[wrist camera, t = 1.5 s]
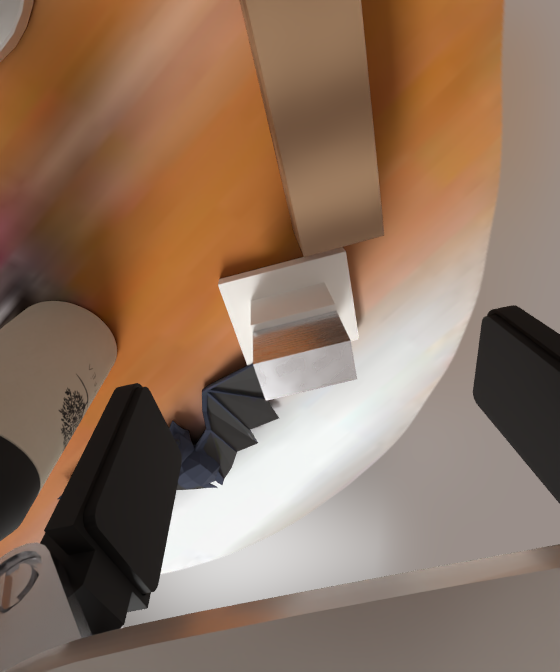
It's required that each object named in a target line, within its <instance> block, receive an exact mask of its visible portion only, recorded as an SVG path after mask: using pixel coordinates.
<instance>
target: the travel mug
mask: <svg viewBox="0 0 560 672" xmlns="http://www.w3.org/2000/svg"><path fill="white" fill-rule="evenodd" d="M116 356H117V346H116V342H115V339H114V336H113V334H112V333H111V331H110V329H109V328H108V327H107V326H106V324H105V323H104V322H103V321H102V320H101V319H100V318H98V317H97V316H96V315H94V314H93V313H91V312H90V311H88V310H86V309H84V308H82V307H80V306H77V305H75V304H71V303H67V302H61V301H45V302H40V303H37V304H34V305H32V306H30V307H28V308H27V309H25V310H24V311H23V312H21V313H20V314H19V315H18V316H16V317H15V318H14V319H13V320H11V321H10V322H9V323H8V324H6V325H5V326H4V327H3V328H1V329H0V541H1V540H2V539H4V538H5V537H6V536H8V535H9V534H10V533H12V532H13V531H14V530H16V529H17V528H18V527H19V526H20V524H21V523H22V521H23V520H24V518H25V516H26V514H27V513H28V511H29V509H30V507H31V506H32V504H33V502H34V501H35V499H36V497H37V495H38V494H39V492H40V490H41V489H42V487H43V485H44V483H45V482H46V480H47V478H48V477H49V475H50V473H51V471H52V470H53V468H54V466H55V465H56V463H57V461H58V459H59V458H60V456H61V454H62V453H63V451H64V449H65V447H66V446H67V444H68V442H69V440H70V439H71V437H72V435H73V434H74V432H75V430H76V428H77V427H78V425H79V423H80V422H81V420H82V418H83V416H84V415H85V413H86V411H87V410H88V408H89V406H90V404H91V403H92V401H93V399H94V398H95V396H96V394H97V392H98V391H99V389H100V387H101V385H102V384H103V382H104V380H105V379H106V377H107V375H108V373H109V372H110V370H111V368H112V367H113V365H114V363H115V360H116Z"/></svg>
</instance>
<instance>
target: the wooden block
mask: <svg viewBox="0 0 560 672" xmlns="http://www.w3.org/2000/svg"><path fill="white" fill-rule="evenodd" d="M240 4H241V8H242V13H243V17H244V21H245V26H246V30H247V34H248V38H249V43H250V47H251V51H252V56H253V60H254V64H255V68H256V73H257V77H258V81H259V85H260V90H261V94H262V98H263V103H264V107H265V111H266V115H267V120H268V124H269V128H270V133H271V137H272V141H273V145H274V150H275V154H276V158H277V163H278V167H279V171H280V175H281V180H282V184H283V188H284V192H285V197H286V201H287V205H288V210H289V214H290V218H291V222H292V227H293V231H294V234H295V237H296V239H297V241H298V244H299V246H300V249H301V251H302V253H303V256H304V257H307V256H311V255H314V254H318V253H322V252H325V251H329V250H333V249H336V248H340V247H344V246H347V245H351V244H355V243H358V242H362V241H366V240H369V239H373V238H377V237H380V236H384V227H383V217H382V207H381V197H380V187H379V177H378V167H377V157H376V147H375V137H374V127H373V116H372V106H371V96H370V86H369V76H368V66H367V56H366V46H365V36H364V26H363V16H362V6H361V0H240Z"/></svg>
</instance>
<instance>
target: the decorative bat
mask: <svg viewBox="0 0 560 672" xmlns="http://www.w3.org/2000/svg"><path fill="white" fill-rule="evenodd" d="M202 412H203V416H204V421H205V425H206V429H205V431H204V433H203V434H202V436H201V438H200V439H199V441H198V443H197V444H194V445H193V443H192V441H191V439H190V434H189V430H185V429H182V428H181V427H180V426H178V425H177V424H176V423H175V422H174V421H172V423H171V425H170V428H169V429H170V431H171V433H172V435H173V437H174V439H175V441H176V443H177V445H178V447H179V449H180V452H181V456H182V463H181V469H180V474H179V479H178V484H177V490H187V489H201V488H218V487H216V486H214V485H212V484H210V483H211V482H213V481H217V482H218V483H219V484H221V485H223V481H224V478H225V477H226V475H227V474H228V472H229V471H230V469H231V468H232V465H233V462H234V459H235V456H236V453H237V451H240V450H242V449H245V448H247V447H250V446H252V445H255V444H257V443H258V442H257V440H256V439H255V437H254V435H253V434H252V432H251V430H250V429H253V428H255V427H258V426H260V425H263V424H266V423H268V422H271V421H273V420H276V419H278V418H279V417H278V416H277V414H276V413H275V411H274V410H273V408H272V407H271V405H270V404H269V402H268V401H266V400H265V397H264V394H263V391H262V389H261V386H260V383H259V380H258V377H257V374H256V372H255V369H254V366H253V363H252V364H250V365H248V366H245V367H243V368H241V369H239V370H237V371H235V372H233V373H231V374H229V375H227V376H225V377H223V378H222V379H220V380H218V381H216V382H214V383H212V384H210V385H208V386H207V387H205V388H204V389H203V390H202ZM61 496H62V495H61ZM61 496H60V497H59V498H58V499H60V498H61Z"/></svg>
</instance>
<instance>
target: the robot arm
mask: <svg viewBox="0 0 560 672" xmlns="http://www.w3.org/2000/svg"><path fill="white" fill-rule="evenodd" d="M33 1H34V0H0V62H1V61H2V60H3V59H4V58H5V57H6V56H7V55H8V54H9V53H10V52H11V51H12V50H13V49H14V48H15V47H16V45H17V44H18V42H19V40H20V38H21V37H22V35H23V33H24V31H25V29H26V28H27V24H28V21H29V17H30V14H31V10H32V7H33ZM473 396H474V399H475V401H476V403H477V404H478V406H479V407H480V408H481V409H482V411H483V412H484V413H485V414H486V415H487V417H488V418H489V419H490V420H491V421H492V423H493V424H494V425H495V426H496V427H497V429H498V430H499V431H500V432H501V433H502V435H503V436H504V437H505V438H506V439H507V441H508V442H509V443H510V444H511V446H512V447H513V448H514V449H515V450H516V452H517V453H518V454H519V455H520V456H521V458H522V459H523V460H524V461H525V462H526V464H527V465H528V466H529V467H530V468H531V470H532V471H533V472H534V473H535V474H536V476H537V477H538V478H539V479H540V480H541V482H542V483H543V484H544V485H545V486H546V488H547V489H548V490H549V491H550V493H551V494H552V495H553V496H554V497H555V498H556V500H557V501H558V502H559V503H560V334H558V333H557V332H555V331H554V330H552V329H551V328H549V327H548V326H546V325H545V324H543V323H542V322H540V321H539V320H537V319H536V318H534V317H533V316H531V315H530V314H528V313H527V312H525V311H524V310H522V309H521V308H519V307H517V306H507V307H502V308H498V309H493V310H491V311H489V313H488V315H487V316H486V317H484V318H483V320H482V325H481V333H480V341H479V349H478V356H477V364H476V372H475V380H474V387H473ZM181 463H182V456H181V452H180V449H179V447H178V445H177V443H176V441H175V439H174V437H173V435H172V433H171V431H170V429H169V427H168V426H167V424H166V422H165V420H164V418H163V416H162V414H161V412H160V410H159V408H158V406H157V404H156V402H155V400H154V398H153V396H152V394H151V392H150V390H149V389H148V388H147V387H142V386H141V385H140V384H138V383H136V384H131V385H126V386H121V387H117V388H116V389H115V390H114V392H113V394H112V396H111V398H110V400H109V402H108V404H107V406H106V408H105V410H104V412H103V414H102V416H101V418H100V420H99V422H98V424H97V426H96V428H95V430H94V432H93V434H92V436H91V438H90V440H89V442H88V444H87V446H86V448H85V450H84V452H83V454H82V456H81V458H80V460H79V462H78V464H77V466H76V468H75V470H74V472H73V474H72V476H71V478H70V480H69V482H68V484H67V486H66V488H65V490H64V492H63V494H62V496H61V498H60V500H59V502H58V504H57V506H56V508H55V510H54V512H53V514H52V516H51V518H50V520H49V522H48V524H47V526H46V528H45V530H44V531H45V532H46V533H45V535H44V537H43V539H42V541H41V543H40V544H39V543H30V544H25V545H23V546H20V547H18V548H15V549H13V550H12V551H10V552H9V553H7V554H5V555H4V556H2V557H1V558H0V672H560V544H559V545H553V546H548V547H542V548H537V549H531V550H526V551H520V552H515V553H509V554H503V555H498V556H492V557H487V558H481V559H476V560H470V561H466V562H460V563H454V564H449V565H444V566H438V567H433V568H428V569H422V570H417V571H411V572H406V573H400V574H395V575H390V576H384V577H379V578H374V579H369V580H363V581H358V582H352V583H347V584H342V585H337V586H331V587H326V588H321V589H315V590H310V591H305V592H300V593H295V594H289V595H284V596H279V597H274V598H268V599H263V600H258V601H253V602H248V603H242V604H237V605H232V606H227V607H222V608H217V609H211V610H207V611H201V612H196V613H191V614H186V615H181V616H176V617H172V618H167V619H162V620H158V621H153V622H148V623H143V624H139V625H134V626H129V627H125V628H123V625H124V623H125V618H126V614H127V612H131V611H136V610H141V609H146V608H148V604H149V599H150V594H151V592H154V591H155V590H156V588H157V586H158V582H159V578H160V573H161V567H162V562H163V557H164V552H165V547H166V541H167V536H168V531H169V526H170V521H171V516H172V510H173V505H174V500H175V495H176V490H177V484H178V479H179V474H180V469H181Z"/></svg>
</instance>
